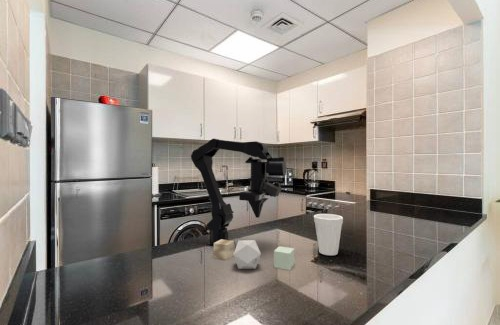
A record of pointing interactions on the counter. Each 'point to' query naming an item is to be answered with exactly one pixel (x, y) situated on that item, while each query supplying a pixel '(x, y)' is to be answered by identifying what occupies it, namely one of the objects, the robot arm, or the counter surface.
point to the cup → (328, 232)
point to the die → (247, 254)
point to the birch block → (223, 249)
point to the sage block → (284, 258)
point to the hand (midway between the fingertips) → (257, 217)
